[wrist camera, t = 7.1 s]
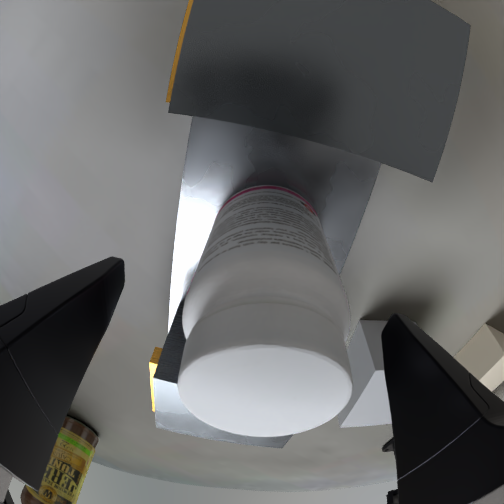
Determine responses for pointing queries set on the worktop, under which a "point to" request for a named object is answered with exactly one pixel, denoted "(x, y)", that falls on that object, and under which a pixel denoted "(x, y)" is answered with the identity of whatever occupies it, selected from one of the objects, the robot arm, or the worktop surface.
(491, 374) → the cream rectangular block
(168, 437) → the worktop surface
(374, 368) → the grey block
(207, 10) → the dark grey block rack
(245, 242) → the pill bottle
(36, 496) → the sauce bottle
